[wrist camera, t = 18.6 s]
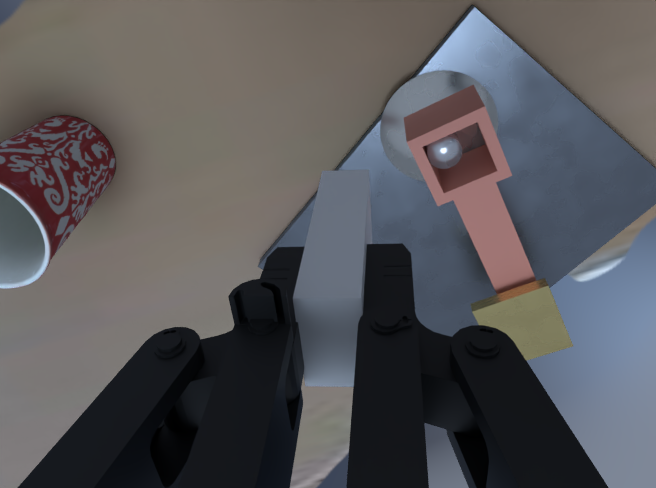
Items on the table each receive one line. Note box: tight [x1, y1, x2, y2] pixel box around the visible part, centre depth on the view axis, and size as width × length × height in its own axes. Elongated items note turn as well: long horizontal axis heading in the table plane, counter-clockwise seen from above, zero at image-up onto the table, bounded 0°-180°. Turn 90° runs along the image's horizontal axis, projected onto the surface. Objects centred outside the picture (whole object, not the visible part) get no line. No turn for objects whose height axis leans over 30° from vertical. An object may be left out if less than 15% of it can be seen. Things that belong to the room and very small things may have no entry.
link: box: [404, 85, 536, 294], centre depth 43 cm, size 19×6×5 cm, turn 28°
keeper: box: [470, 278, 573, 360], centre depth 47 cm, size 7×6×8 cm
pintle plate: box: [258, 5, 656, 337], centre depth 47 cm, size 28×22×1 cm
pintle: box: [426, 132, 462, 169], centre depth 40 cm, size 2×2×5 cm
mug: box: [0, 116, 115, 288], centre depth 41 cm, size 13×9×14 cm
